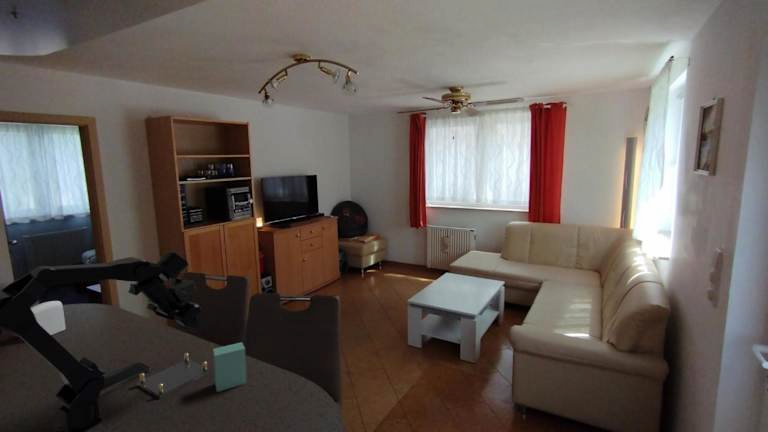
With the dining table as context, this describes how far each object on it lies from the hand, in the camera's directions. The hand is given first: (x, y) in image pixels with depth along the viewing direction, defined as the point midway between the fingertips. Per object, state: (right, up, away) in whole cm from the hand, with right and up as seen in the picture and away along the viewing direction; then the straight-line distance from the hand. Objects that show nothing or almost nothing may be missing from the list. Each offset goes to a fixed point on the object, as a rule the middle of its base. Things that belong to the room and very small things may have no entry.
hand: (190, 325), depth 111 cm
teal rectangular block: (+14, -16, -5) cm, 22 cm away
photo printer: (-66, -11, +24) cm, 71 cm away
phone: (-20, -16, -3) cm, 25 cm away
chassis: (-3, -15, -3) cm, 16 cm away
